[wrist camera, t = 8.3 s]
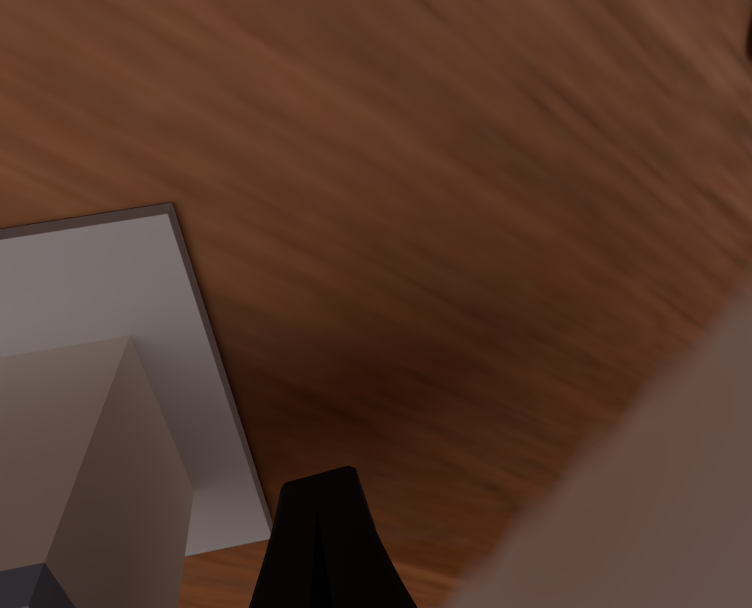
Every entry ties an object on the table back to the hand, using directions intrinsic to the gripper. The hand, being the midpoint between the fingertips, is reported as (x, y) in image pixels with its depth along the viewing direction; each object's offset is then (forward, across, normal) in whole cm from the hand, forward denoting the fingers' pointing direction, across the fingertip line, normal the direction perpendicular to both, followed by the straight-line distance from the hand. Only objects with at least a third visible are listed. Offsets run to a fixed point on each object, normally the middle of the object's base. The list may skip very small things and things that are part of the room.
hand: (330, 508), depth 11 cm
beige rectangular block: (+3, +5, 0) cm, 6 cm away
